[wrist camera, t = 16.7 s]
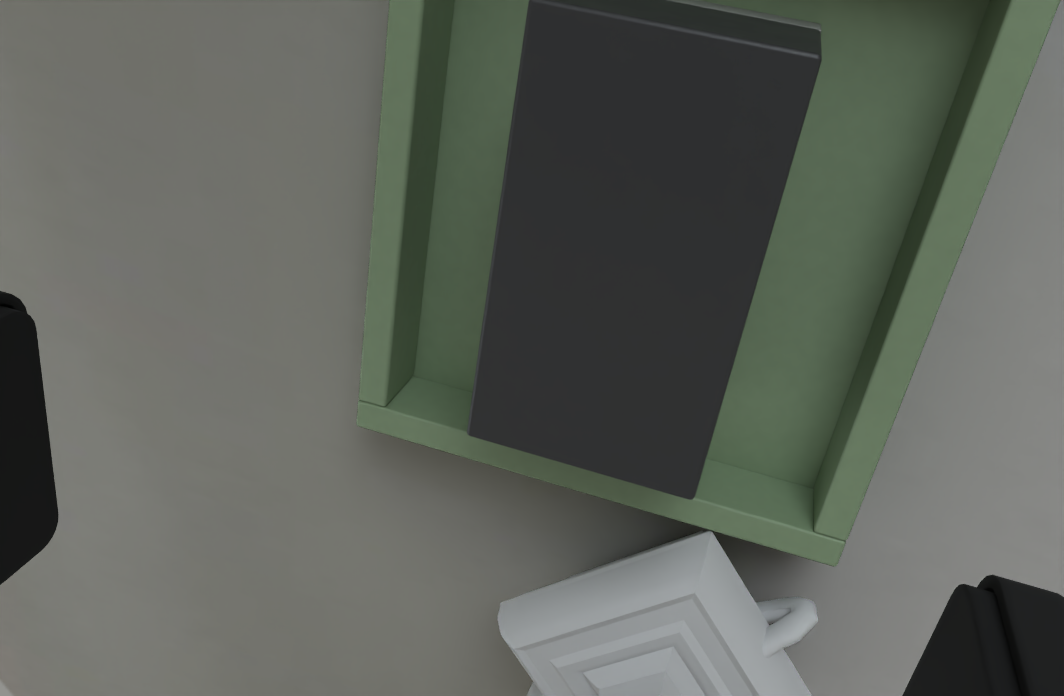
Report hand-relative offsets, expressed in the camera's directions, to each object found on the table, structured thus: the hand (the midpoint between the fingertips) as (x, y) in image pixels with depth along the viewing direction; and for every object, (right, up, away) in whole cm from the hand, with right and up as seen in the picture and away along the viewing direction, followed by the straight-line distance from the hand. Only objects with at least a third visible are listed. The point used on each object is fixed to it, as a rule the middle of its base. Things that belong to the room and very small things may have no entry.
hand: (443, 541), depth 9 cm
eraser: (+4, +5, +13) cm, 14 cm away
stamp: (+5, -6, +18) cm, 20 cm away
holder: (+4, +6, +13) cm, 15 cm away
